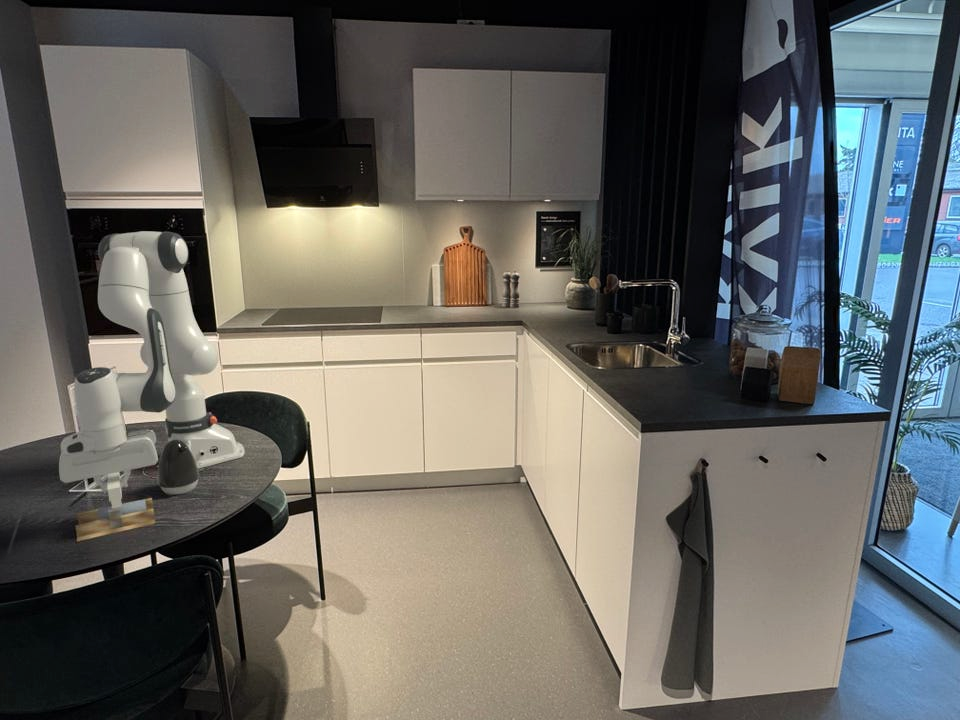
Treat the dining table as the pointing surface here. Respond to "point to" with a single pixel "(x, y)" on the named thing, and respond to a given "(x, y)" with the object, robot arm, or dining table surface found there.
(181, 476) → the dark grey egg shape
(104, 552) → the dining table surface
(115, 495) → the tie bar
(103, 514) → the light blue block
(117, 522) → the brown low boxy piece
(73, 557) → the dining table surface
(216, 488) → the dining table surface
